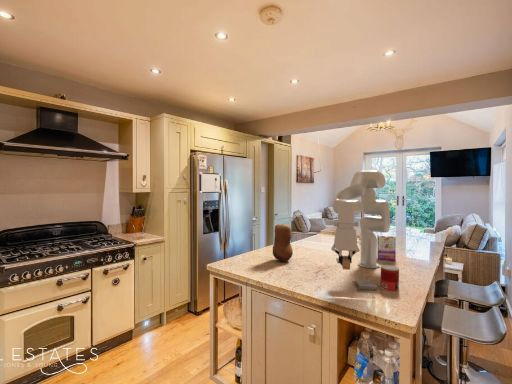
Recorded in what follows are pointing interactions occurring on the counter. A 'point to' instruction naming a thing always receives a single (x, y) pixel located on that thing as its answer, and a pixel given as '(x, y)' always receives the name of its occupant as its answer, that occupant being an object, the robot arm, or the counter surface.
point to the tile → (366, 284)
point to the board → (366, 289)
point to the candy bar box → (386, 247)
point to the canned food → (390, 277)
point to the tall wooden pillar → (345, 262)
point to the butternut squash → (282, 243)
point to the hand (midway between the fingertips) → (345, 263)
